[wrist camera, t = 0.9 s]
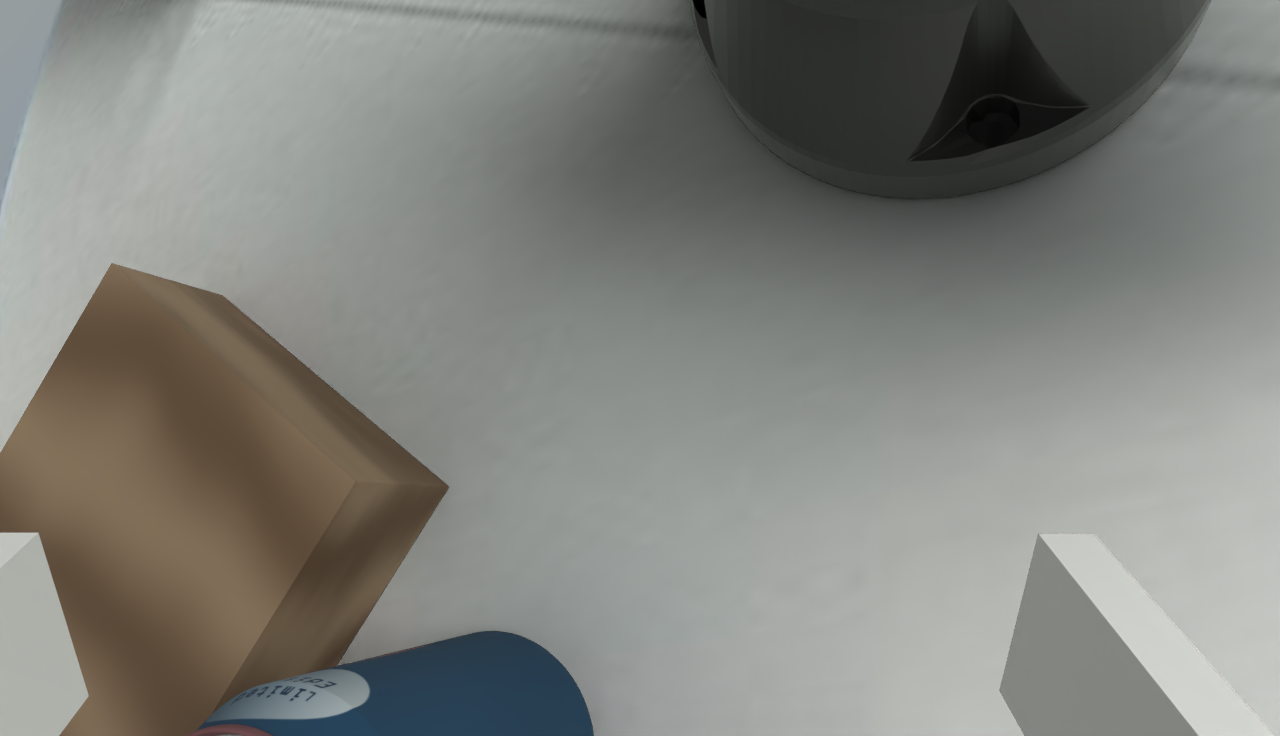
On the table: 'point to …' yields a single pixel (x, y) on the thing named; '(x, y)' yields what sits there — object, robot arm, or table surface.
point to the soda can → (418, 695)
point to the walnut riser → (201, 506)
